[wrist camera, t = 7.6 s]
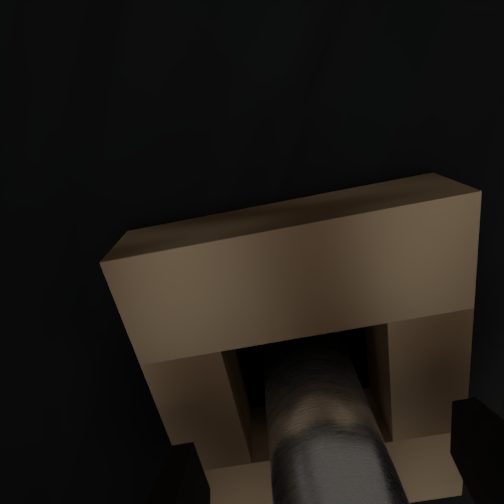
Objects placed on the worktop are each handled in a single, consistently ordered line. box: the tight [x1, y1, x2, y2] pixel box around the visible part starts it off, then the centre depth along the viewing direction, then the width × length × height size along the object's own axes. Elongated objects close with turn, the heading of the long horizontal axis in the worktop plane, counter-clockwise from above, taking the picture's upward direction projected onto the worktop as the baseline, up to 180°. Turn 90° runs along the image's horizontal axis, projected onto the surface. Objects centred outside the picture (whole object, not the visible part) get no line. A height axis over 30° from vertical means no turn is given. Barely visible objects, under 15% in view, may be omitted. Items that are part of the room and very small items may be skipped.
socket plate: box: [100, 173, 482, 504], centre depth 13 cm, size 10×12×2 cm
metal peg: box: [262, 332, 410, 504], centre depth 10 cm, size 3×3×8 cm
